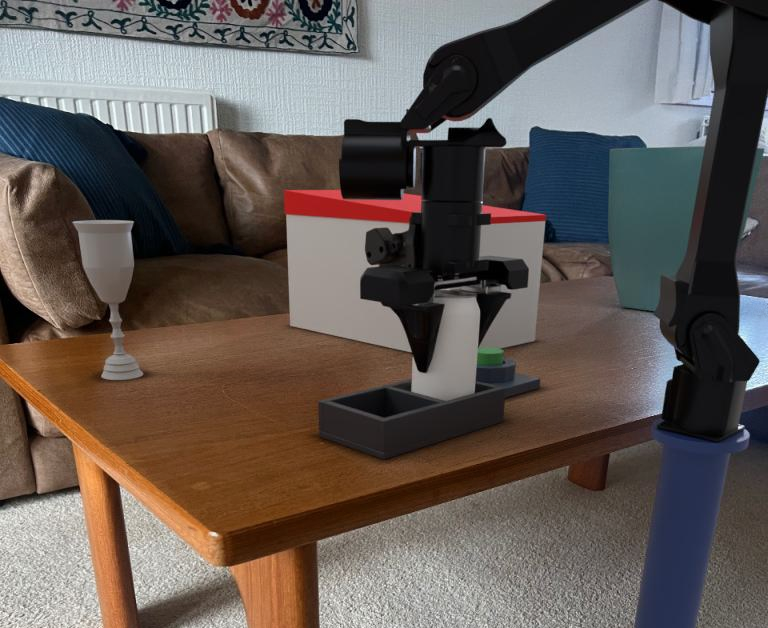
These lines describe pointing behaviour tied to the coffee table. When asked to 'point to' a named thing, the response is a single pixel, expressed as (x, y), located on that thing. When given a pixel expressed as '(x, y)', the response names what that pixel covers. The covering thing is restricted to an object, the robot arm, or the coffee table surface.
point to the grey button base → (506, 378)
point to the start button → (490, 356)
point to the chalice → (110, 281)
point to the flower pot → (653, 216)
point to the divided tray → (405, 417)
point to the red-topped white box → (348, 262)
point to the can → (452, 349)
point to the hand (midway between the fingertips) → (445, 366)
